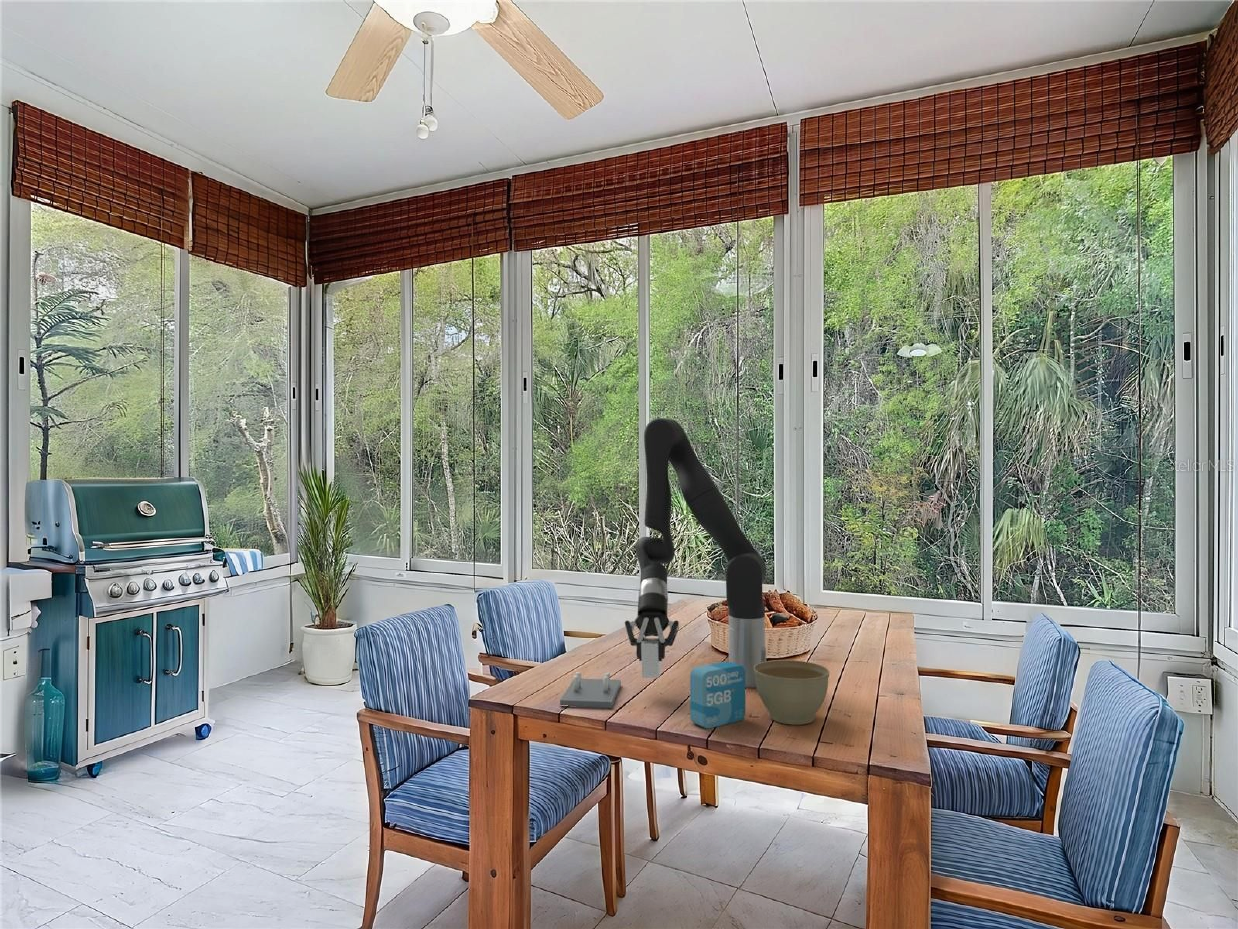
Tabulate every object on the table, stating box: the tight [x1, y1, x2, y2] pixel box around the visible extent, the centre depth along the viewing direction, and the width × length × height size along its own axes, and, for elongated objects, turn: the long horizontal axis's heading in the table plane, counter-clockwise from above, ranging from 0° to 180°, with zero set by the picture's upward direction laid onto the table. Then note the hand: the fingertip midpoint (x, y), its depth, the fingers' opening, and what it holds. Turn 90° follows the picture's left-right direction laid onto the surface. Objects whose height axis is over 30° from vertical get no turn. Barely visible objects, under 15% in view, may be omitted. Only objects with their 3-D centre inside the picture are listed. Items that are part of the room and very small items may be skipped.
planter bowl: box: [754, 659, 830, 726], centre depth 154 cm, size 16×16×11 cm
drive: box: [641, 637, 662, 679], centre depth 170 cm, size 4×6×8 cm
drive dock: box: [559, 671, 622, 709], centre depth 171 cm, size 12×18×5 cm, turn 173°
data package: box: [689, 660, 746, 730], centre depth 152 cm, size 12×4×12 cm, turn 123°
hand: (650, 659), depth 168 cm, fingers closed on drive, 4 cm apart
